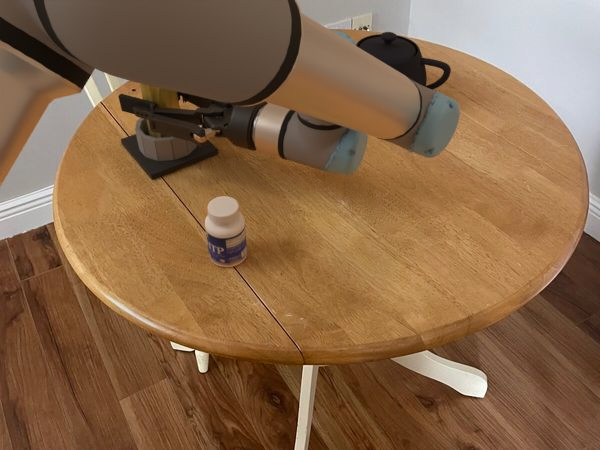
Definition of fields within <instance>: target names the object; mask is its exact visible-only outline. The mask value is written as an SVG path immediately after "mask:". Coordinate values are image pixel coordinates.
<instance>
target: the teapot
mask: <svg viewBox="0 0 600 450" xmlns="http://www.w3.org/2000/svg"><path fill="white" fill-rule="evenodd" d="M356 46H357V47H359V48H360V49H362V50H364V51H365V52H367V53H369V54H370V55H372V56H373V57H375V58H377V59H378V60H380V61H382V62H383V63H385V64H387V65H388V66H390V67H392V68H393V69H395V70H397V71H398V72H400V73H402V74H403V75H405V76H406V77H408V78H410V79H412V80H413V81H415V82H417V83H418V84H420V85H422V86H424V87H427V88H429V89H432V90H436V89H437V88H440V87H441V86H442V85H444V84H445V83H446V82H447V81H448V79H449V78H450V76H451V73H452V69H451V66H450V65H449V64H448V63H446V62H445V61H442V60H438V59H434V58H427V57H423V55H422V52H421V49H420V47H419V45H418V44H417V43H416V42H415V41H413V40H411V39H409V38H407V37H405V36H402V35H397V34H396V33H395V32H393V31H384V32H382V33H379V34H378V33H377V34H371V35H368V36H365V37H363V38H360V39H359V40H358V41H357V42H356ZM426 66H430V67H435V68H438V69H441V70H442V71H443V73H442V75H441V76H440V77H439V78H438V79H437V80H436V81H434V82H432V83H430V84H427V81H428V76H427V69H426Z"/></svg>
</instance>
